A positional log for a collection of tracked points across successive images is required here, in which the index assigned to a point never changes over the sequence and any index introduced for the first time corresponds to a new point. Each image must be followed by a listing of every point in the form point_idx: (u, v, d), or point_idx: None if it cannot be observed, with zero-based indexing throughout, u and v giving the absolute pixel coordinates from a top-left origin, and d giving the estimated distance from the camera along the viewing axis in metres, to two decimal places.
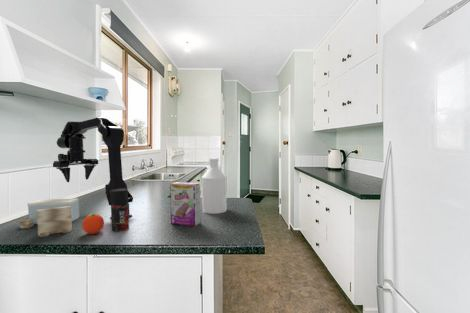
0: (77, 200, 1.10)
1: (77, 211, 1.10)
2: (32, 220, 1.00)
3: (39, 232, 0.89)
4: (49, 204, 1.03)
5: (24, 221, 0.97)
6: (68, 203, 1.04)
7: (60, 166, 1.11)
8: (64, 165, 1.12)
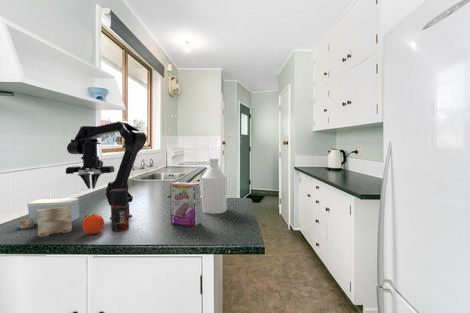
0: (77, 200, 1.10)
1: (77, 211, 1.10)
2: (32, 220, 1.00)
3: (39, 232, 0.89)
4: (49, 204, 1.03)
5: (24, 221, 0.97)
6: (68, 203, 1.04)
7: (66, 172, 1.10)
8: (68, 172, 1.10)
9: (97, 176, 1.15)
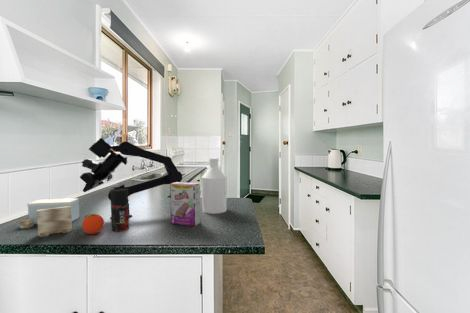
0: (77, 200, 1.10)
1: (77, 211, 1.10)
2: (32, 220, 1.00)
3: (39, 232, 0.89)
4: (49, 204, 1.03)
5: (24, 221, 0.97)
6: (68, 203, 1.04)
7: (91, 185, 0.99)
8: (94, 185, 1.00)
9: None
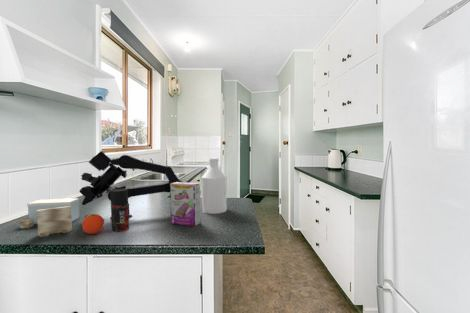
0: (77, 200, 1.10)
1: (77, 211, 1.10)
2: (32, 220, 1.00)
3: (39, 232, 0.89)
4: (49, 204, 1.03)
5: (24, 221, 0.97)
6: (69, 203, 1.04)
7: (90, 199, 0.99)
8: (93, 199, 1.01)
9: None
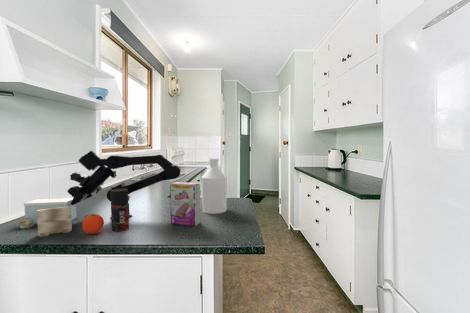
0: None
1: (74, 211, 1.10)
2: (32, 220, 1.00)
3: (39, 232, 0.89)
4: (46, 204, 1.03)
5: (24, 221, 0.97)
6: (65, 203, 1.04)
7: (78, 200, 0.99)
8: (82, 199, 1.00)
9: None
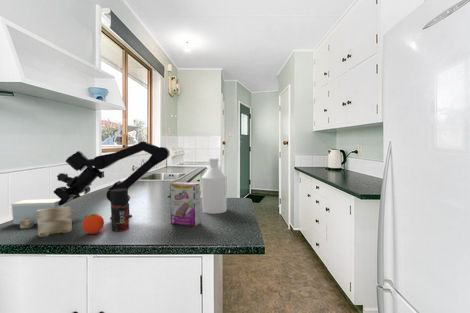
0: None
1: None
2: (32, 220, 1.00)
3: (39, 232, 0.89)
4: (33, 204, 1.03)
5: (24, 221, 0.97)
6: (52, 203, 1.03)
7: (65, 200, 0.98)
8: (68, 200, 1.00)
9: None
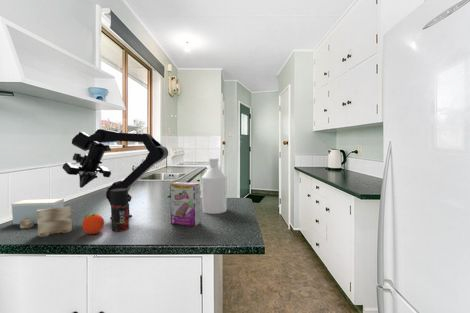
0: (62, 200, 1.09)
1: None
2: (32, 220, 1.00)
3: (39, 232, 0.89)
4: (33, 204, 1.03)
5: (24, 221, 0.97)
6: (52, 203, 1.03)
7: (68, 172, 1.01)
8: (73, 172, 1.02)
9: (88, 175, 1.12)
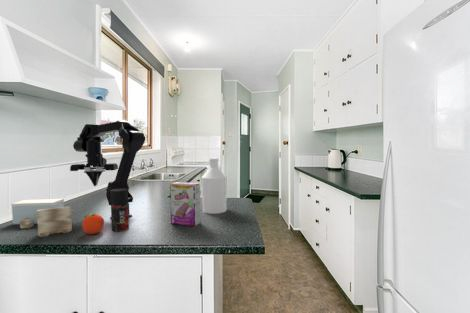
0: (62, 200, 1.09)
1: None
2: (32, 220, 1.00)
3: (39, 232, 0.89)
4: (33, 204, 1.03)
5: (24, 221, 0.97)
6: (52, 203, 1.03)
7: (70, 169, 1.12)
8: (73, 169, 1.12)
9: (99, 173, 1.17)
